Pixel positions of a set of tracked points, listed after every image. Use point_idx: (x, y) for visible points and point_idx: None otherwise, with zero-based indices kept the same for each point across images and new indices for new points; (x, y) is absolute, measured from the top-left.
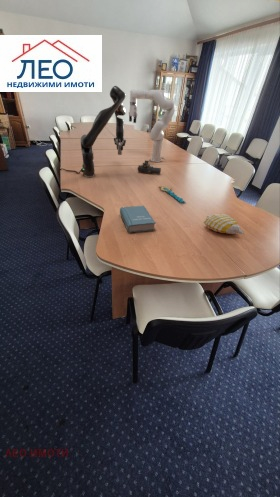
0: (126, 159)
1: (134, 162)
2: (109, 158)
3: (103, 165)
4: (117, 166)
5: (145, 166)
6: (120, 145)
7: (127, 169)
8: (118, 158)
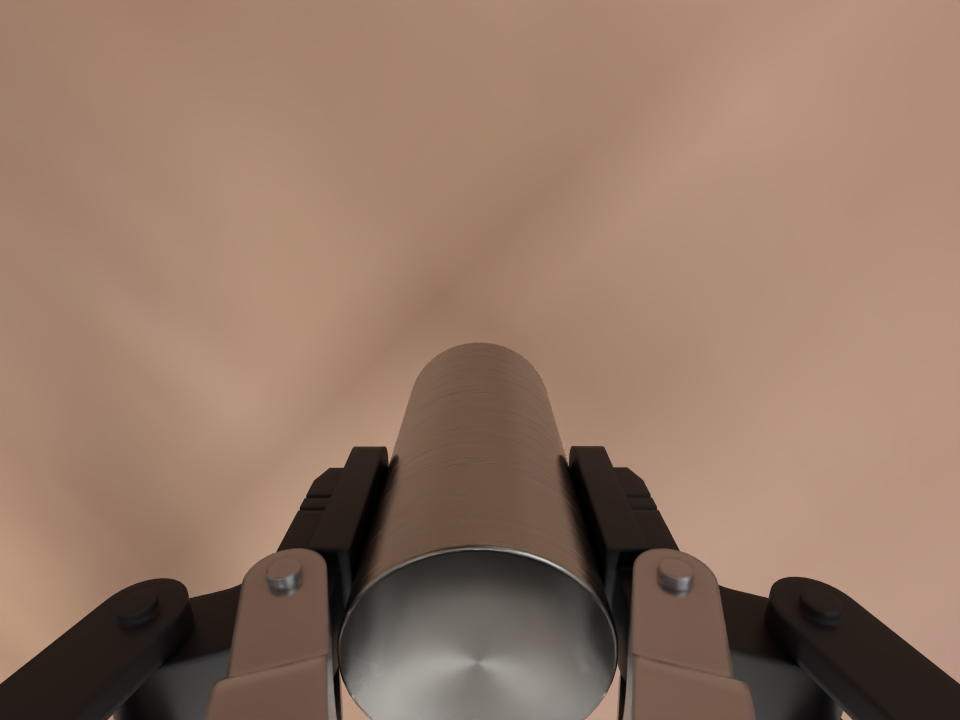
0: None
1: None
2: (882, 516)
3: (747, 13)
4: (452, 197)
5: None
6: (360, 587)
7: (163, 175)
8: None
